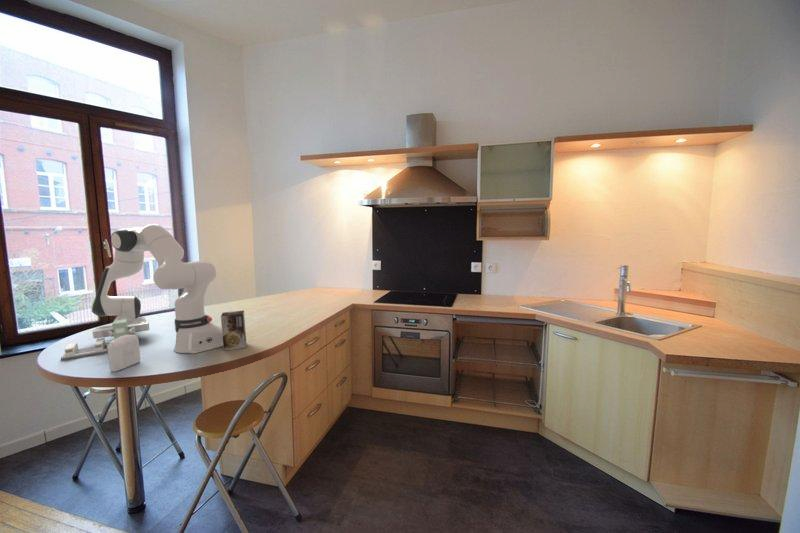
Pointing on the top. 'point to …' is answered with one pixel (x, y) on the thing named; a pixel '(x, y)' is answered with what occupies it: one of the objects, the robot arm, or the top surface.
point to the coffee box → (233, 330)
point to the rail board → (84, 350)
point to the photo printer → (123, 352)
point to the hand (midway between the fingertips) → (121, 333)
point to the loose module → (120, 328)
